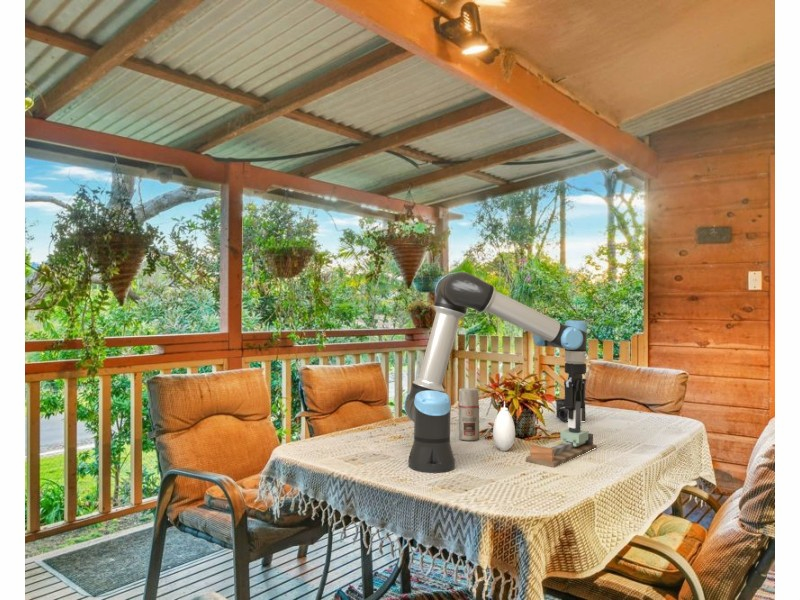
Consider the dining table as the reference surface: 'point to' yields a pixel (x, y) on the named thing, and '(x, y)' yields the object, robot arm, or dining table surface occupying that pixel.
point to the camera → (565, 411)
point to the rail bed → (563, 456)
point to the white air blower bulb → (504, 430)
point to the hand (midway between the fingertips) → (574, 426)
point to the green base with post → (575, 430)
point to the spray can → (468, 414)
